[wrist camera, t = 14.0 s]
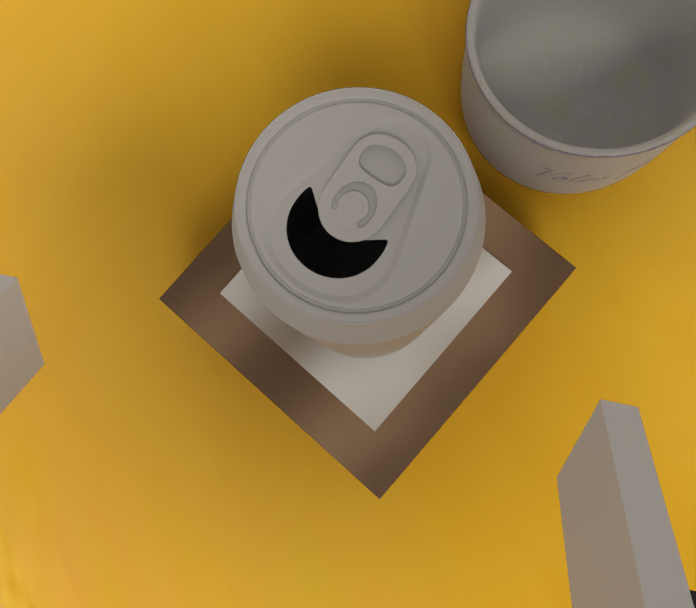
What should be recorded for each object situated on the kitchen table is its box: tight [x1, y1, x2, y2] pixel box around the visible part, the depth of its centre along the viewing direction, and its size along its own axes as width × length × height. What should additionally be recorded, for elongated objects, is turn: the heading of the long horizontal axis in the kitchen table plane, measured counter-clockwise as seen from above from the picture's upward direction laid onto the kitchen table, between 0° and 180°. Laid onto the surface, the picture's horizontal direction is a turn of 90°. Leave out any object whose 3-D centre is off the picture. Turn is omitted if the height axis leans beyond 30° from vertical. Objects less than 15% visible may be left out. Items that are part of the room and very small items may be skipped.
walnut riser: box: [160, 87, 576, 499], centre depth 28 cm, size 13×13×5 cm
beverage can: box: [232, 87, 486, 358], centre depth 19 cm, size 6×6×12 cm
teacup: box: [461, 0, 696, 194], centre depth 27 cm, size 14×11×8 cm
